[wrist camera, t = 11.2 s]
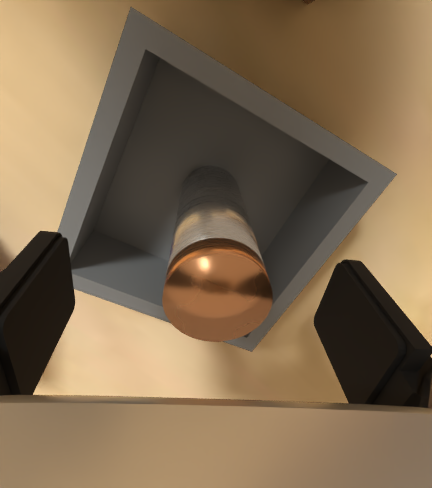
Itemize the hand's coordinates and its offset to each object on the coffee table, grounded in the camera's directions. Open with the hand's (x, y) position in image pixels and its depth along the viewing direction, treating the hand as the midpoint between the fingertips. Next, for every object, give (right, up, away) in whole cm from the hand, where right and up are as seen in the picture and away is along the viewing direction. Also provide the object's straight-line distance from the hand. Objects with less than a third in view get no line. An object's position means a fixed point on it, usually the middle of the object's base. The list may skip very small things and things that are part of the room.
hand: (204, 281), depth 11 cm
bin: (0, +5, +11) cm, 12 cm away
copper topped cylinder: (0, +5, +10) cm, 11 cm away
